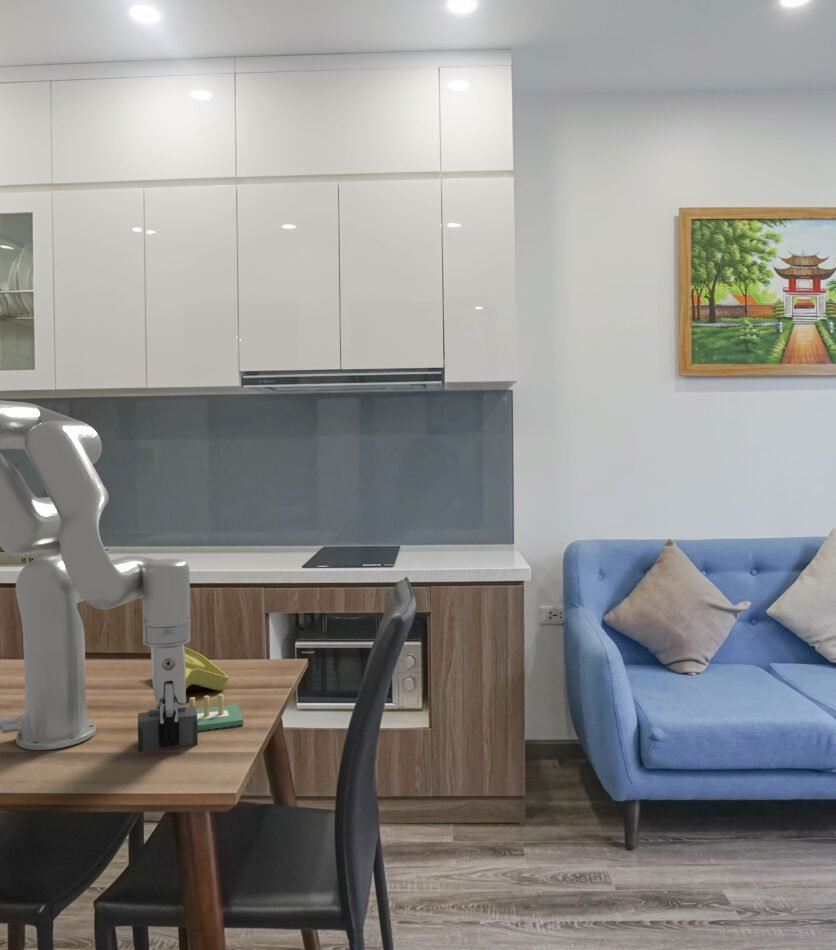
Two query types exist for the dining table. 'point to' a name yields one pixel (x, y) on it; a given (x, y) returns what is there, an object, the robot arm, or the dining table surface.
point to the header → (216, 714)
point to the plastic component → (203, 672)
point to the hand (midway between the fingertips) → (168, 736)
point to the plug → (150, 728)
